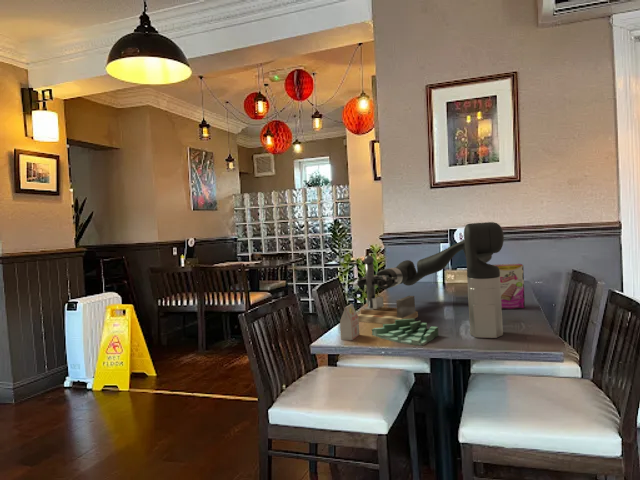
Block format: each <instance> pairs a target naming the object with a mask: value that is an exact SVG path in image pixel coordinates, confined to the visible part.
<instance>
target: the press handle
mask: <svg viewBox="0 0 640 480" xmlns="http://www.w3.org/2000/svg"><path fill="white" fill-rule="evenodd" d="M374 261H375V260H374V257H373V256H372V255H369V254H368V255H366V256H364V258H363V262H364V266H365V268H364V269H365V277H366V285H365V287H366V298H367V306H365V307H363V310H375V311H380V307H385V306H384V305H385V304H384V296H377V297H376V287H375V286H376V285H375V284H374V275H375V273H374V272H375V271H374V270H375V269H374Z"/></svg>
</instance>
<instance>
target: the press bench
mask: <svg viewBox="0 0 640 480" xmlns="http://www.w3.org/2000/svg"><path fill="white" fill-rule="evenodd" d="M395 302H396V307H386V306H383V307H380V311H375V310H364V309H360V313H358V314H357V315H358V319H359V323H360V322H362V323H373V324H381V325H383V324H395V320H400V319H415V320H416V318H419V314H418V313H419V311H416V305H415V304H416V303H415V295H407V296H404V297H402V298H399V299H397V300H395Z"/></svg>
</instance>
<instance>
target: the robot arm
mask: <svg viewBox="0 0 640 480" xmlns="http://www.w3.org/2000/svg"><path fill="white" fill-rule="evenodd" d="M504 236H505V235H504V231H503V228H502V226H501V225H500V224H499V223H498V222H493V221H488V222H474V223H467V224H466V225H465V226H464V229H463V240H461V241H459V242H457V243H454V244H453V245H451V246H449V247H447V248H445V249H443V250H442V251H439V252H437V253H434V254H432V255H429V256H426V257H424V258H422V259H421V258H420V259H419V260H418V261H417V263H416V266H415V264H414V262H413V261H412V260H410V259H409V260H408V259H405V260H403V261H401V262H400V263H398V264H397V266H396V267H388V268H384V269H381V270H379V271H377V273H376V275H375V274H374V284H375V286H377V287H378V288H381V289H383V290H387V289H388V290H389V289H391V288H394V287H397V286H398V285H400V284H403V285H405V286H408V287H410V286H414V285H415V284H416V283H418V282H419V281H420V280H421V279H423V278H425V277H427V276H430V275H433V274H435V273H439V272H441V271H442V270H444V269H445V268H446V267H447V266H448V264H449V263H450V261H451V260H452V259H453V258H454V257H455V255H456V254H457V253H459V252H461V251H463V253H464V256H465V259H466V260H465V261H466V281H467V298H468V300H467V301H468V316H469V317H468V318H469V321H468V322H469V334H470V335H471V336H473V337H474V338H480V339H481V338H488V339H497V338H499V337H502V336H503V335H504V330H503V329H504V328H503V313H502V312H503V311H502V310H503V309H502V306H501V287H500V270H499V268H498V267H497V266H494V265H495V264H490V263H488V262H490V261H491V260H492V258H493V255H494V254H497V253H499V252H501V250H502V249H503V245H504V240H505V239H504ZM356 282H357V283H356V284H357V286H358V287H362V286H366V276H363V277H359V278H358V280H357V281H356Z"/></svg>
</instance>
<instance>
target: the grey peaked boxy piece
mask: <svg viewBox="0 0 640 480" xmlns="http://www.w3.org/2000/svg"><path fill="white" fill-rule="evenodd" d="M358 315H359V314H358V313H357V311H356V309H355V307H354V304H353V303H350V304H349V305H346V306H345V307H344V309H343V312H342V315H341V317H340V319H339V325H340V326H339V327H340V328H339V329H340V340H341V341H353V340H354V339H356V338H357V337H358V336H360V324H359V323H360V322H359V319H358Z"/></svg>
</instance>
